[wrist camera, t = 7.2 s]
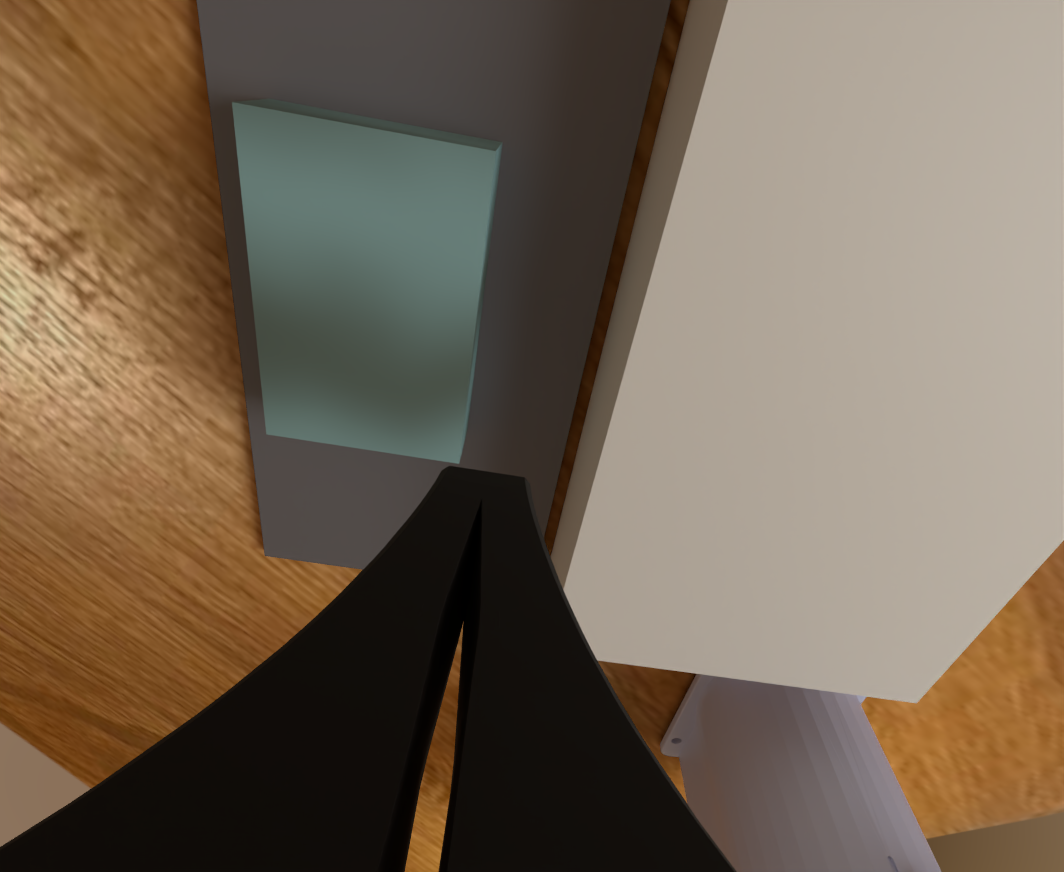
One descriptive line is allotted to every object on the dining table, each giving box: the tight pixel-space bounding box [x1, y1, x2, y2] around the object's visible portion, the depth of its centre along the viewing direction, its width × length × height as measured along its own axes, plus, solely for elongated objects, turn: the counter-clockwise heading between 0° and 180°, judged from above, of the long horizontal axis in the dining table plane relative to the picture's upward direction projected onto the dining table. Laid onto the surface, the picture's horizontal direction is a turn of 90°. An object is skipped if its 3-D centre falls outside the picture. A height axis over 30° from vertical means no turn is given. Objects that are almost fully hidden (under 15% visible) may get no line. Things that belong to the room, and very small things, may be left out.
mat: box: [197, 0, 671, 569], centre depth 18 cm, size 22×11×1 cm, turn 171°
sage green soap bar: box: [232, 99, 502, 464], centre depth 16 cm, size 9×6×2 cm, turn 171°
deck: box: [551, 0, 1064, 703], centre depth 17 cm, size 22×14×4 cm, turn 171°
